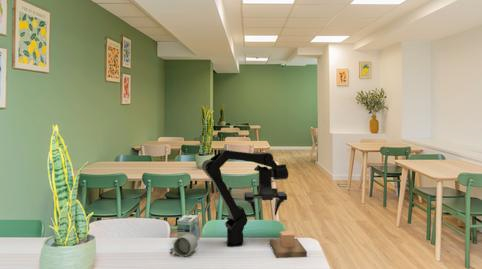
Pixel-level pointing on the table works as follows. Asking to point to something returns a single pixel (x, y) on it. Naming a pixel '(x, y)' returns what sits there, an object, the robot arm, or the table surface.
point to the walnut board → (287, 249)
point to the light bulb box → (188, 225)
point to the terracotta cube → (287, 239)
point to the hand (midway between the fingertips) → (265, 215)
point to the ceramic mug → (184, 245)
